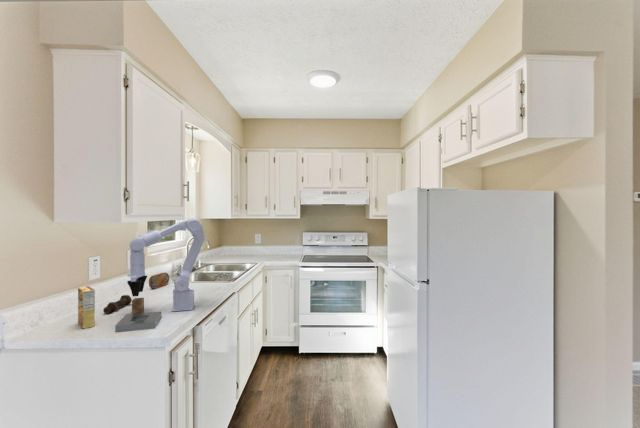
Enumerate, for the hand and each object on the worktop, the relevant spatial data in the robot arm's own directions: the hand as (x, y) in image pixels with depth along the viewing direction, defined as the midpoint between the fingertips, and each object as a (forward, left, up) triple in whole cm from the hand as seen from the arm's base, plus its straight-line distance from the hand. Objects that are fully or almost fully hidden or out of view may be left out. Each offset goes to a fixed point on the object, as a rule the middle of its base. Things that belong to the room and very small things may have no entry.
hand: (137, 293), depth 144 cm
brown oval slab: (+1, -53, -10) cm, 54 cm away
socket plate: (-4, +14, -9) cm, 17 cm away
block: (0, 0, -9) cm, 9 cm away
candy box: (+17, +9, -10) cm, 21 cm away
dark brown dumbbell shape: (+12, -11, -10) cm, 19 cm away
